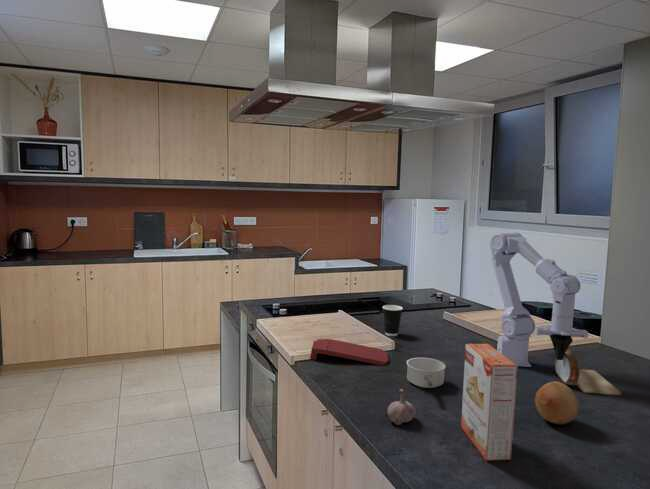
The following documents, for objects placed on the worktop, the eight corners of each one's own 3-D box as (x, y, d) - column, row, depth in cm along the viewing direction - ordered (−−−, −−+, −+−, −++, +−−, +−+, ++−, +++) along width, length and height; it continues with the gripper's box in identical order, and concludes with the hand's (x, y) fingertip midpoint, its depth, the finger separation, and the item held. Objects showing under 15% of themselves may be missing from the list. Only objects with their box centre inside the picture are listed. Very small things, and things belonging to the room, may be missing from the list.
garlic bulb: (395, 429, 108) (397, 397, 108) (379, 415, 115) (381, 384, 114) (422, 424, 111) (424, 392, 111) (405, 411, 118) (407, 380, 117)
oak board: (583, 392, 133) (583, 389, 133) (561, 370, 150) (561, 368, 150) (620, 395, 132) (621, 392, 132) (594, 372, 149) (594, 370, 149)
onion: (576, 436, 108) (580, 394, 107) (530, 423, 113) (533, 384, 112) (579, 419, 116) (582, 381, 115) (536, 409, 121) (539, 372, 120)
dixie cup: (401, 332, 187) (403, 305, 186) (401, 338, 179) (402, 310, 178) (381, 330, 188) (383, 304, 187) (380, 336, 180) (381, 308, 179)
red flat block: (383, 363, 162) (312, 349, 163) (386, 350, 162) (315, 335, 163) (386, 377, 150) (309, 361, 151) (389, 362, 150) (311, 347, 151)
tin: (576, 390, 134) (583, 363, 133) (565, 387, 135) (572, 360, 134) (561, 371, 149) (567, 346, 148) (551, 369, 149) (557, 344, 148)
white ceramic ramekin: (407, 401, 124) (408, 381, 123) (404, 373, 143) (405, 356, 143) (451, 405, 122) (452, 385, 122) (442, 376, 142) (443, 359, 141)
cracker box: (458, 428, 110) (464, 342, 108) (483, 427, 110) (489, 342, 108) (484, 462, 96) (490, 364, 94) (511, 461, 97) (519, 364, 94)
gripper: (541, 317, 137) (538, 361, 138) (594, 320, 135) (589, 365, 136) (534, 311, 144) (530, 353, 145) (583, 314, 142) (579, 357, 143)
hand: (558, 358), depth 141 cm, fingers closed
